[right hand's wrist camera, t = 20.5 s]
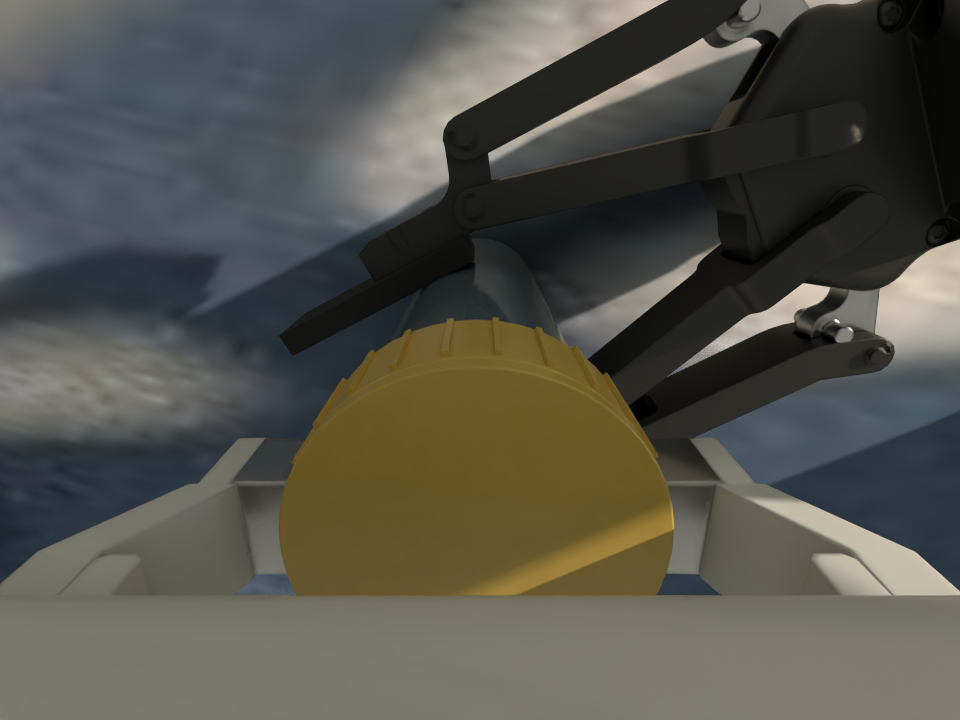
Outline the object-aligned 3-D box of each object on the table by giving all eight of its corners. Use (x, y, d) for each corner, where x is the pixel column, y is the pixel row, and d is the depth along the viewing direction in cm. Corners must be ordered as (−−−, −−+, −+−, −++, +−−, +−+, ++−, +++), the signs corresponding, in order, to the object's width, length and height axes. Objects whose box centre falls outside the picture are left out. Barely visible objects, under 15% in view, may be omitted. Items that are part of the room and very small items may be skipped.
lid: (686, 516, 10) (740, 607, 8) (426, 631, 12) (414, 739, 9) (545, 249, 9) (567, 276, 6) (251, 415, 10) (185, 487, 8)
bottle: (405, 256, 23) (268, 422, 8) (520, 223, 22) (601, 337, 7) (440, 362, 25) (380, 662, 10) (547, 334, 24) (656, 605, 9)
